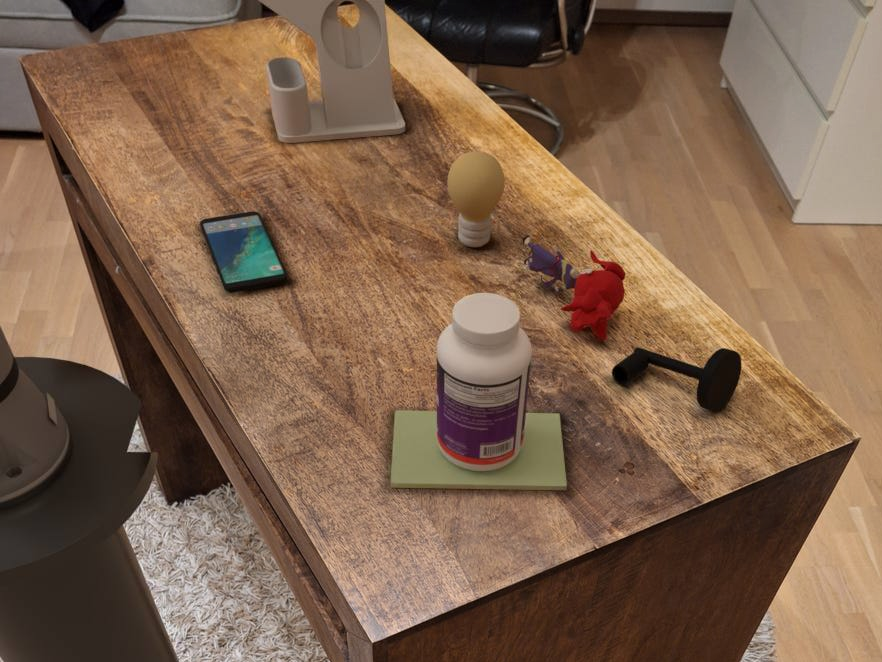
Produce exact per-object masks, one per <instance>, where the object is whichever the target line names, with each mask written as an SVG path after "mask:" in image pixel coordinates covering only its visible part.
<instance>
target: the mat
mask: <svg viewBox="0 0 882 662" xmlns="http://www.w3.org/2000/svg"><path fill="white" fill-rule="evenodd" d="M393 420H394V422H393V423H394V424H393V436H392V437H393V438H392V453H391V466H390V467H391V469H390V470H391V471H390V488H396V489H397V488H398V489H399V488H400V489H456V490H458V489H459V490H511V491H512V490H513V491H514V490H515V491H516V490H521V491H567V487H568V483H567V475H566V473H567V472H566V463H565V455H564V454H565V453H564V443H563V433H562V423H561V414H560V413H555V412H554V413H552V412H526V417H525V427H524V438H523V445H522V448H521V450H520V452H519V454H518V455H517V457H516V458H515V459H514V460H513V461H511V462H510V463H509V464H507V465H505V466H503V467H501V468H499V469H495V470H490V471H473V470H468V469H465V468H462V467H459V466H457V465H455V464H453V463H452V462H450V461H449V460H448V459H447V458H446V457H445V456H444V455H443V454H442V452H441V450H440V448H439V446H438V442H437V410H409V409H408V410H406V409H405V410H404V409H403V410H401V409H400V410H399V409H396V410H394V419H393Z"/></svg>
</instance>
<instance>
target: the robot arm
mask: <svg viewBox="0 0 882 662" xmlns="http://www.w3.org/2000/svg"><path fill="white" fill-rule="evenodd" d="M15 357H16V356H14V353H13V351H12V348H11V346H10V344H9V341H8V339H7V338H6V335H5V333H4V330H3V328H2V326H1V325H0V510H2V509H5V508H8V507H11V506H14V505H16V504H19V503H21V502H23V501H25V500H27V499H29V498H31V497H33V496H35V495H36V494H38V493H39V492H41V491H42V490H44V489H45V488H46V487H48V486H49V485H50V484H51V483H52V482H53V481H54V480H55V479H56V478H57V477H58V476H59V475H60V474H61V473H62V471H63V470H64V469H65V467H66V465H67V463H68V461H69V459H70V456H71V453H72V447H73V441H72V436H71V433H70V430H69V428H68V425H67V423H66V421H65V419H64V417H63V415H62V414H61V413H60V411H59V409H58V408H57V407H56V406H55V403H54V400H53V398H52V397H51V396H50V395H49V394H48V393H47V397H46V396H45V395H44V394H43V393H42V392H41V391H40V390H39V389H38V387H37V386H36V385H35V384H34V383H33V382H32V381H31V380H30V379H29V378H28V377H27V376H26V375H25V373H24V372H23V371H22V370H21V369H20V368H19V366H18V364H17V362H16V360H15Z"/></svg>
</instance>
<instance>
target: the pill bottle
mask: <svg viewBox="0 0 882 662" xmlns="http://www.w3.org/2000/svg"><path fill="white" fill-rule="evenodd" d="M451 312H452V314H451V315H452V316H451V323H450V324H448V325H447V326H446V327H445V328H444V329H443V331H442V332H441V334H439V338H438V340H437V343H436V411H437V442H438V446H439V448H440V450H441V452H442V454H443V455H444V456H445V457H446V458H447V459H448V460H449V461H450V462H452V463H453V464H455V465H457V466H459V467H462V468H465V469H468V470H473V471H490V470H495V469H499V468H501V467H503V466H505V465H507V464H509V463H510V462H511V461H513V460H514V459H515V458H516V457H517V455H518V454H519V452H520V450H521V448H522V445H523V438H524V427H525V417H526V413H527V405H528V397H529V396H528V395H529V385H530V377H531V376H530V375H531V366H532V357H533V349H532V343H531V340H530V338H529V336H528V334H527V333H526V332H525V330H524V329H523V328H522V327H521V311H520V309H519V306H518V305H517V304H516V303H515V302H514V301H513V300H511V299H510V298H508V297H506V296H504V295H501V294H497V293H492V292H477V293H472V294H469V295H466V296H464V297H462V298H460V299H458V301H456V302H455V304H454V306H453V307H452V311H451Z"/></svg>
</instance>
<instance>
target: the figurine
mask: <svg viewBox="0 0 882 662" xmlns="http://www.w3.org/2000/svg"><path fill="white" fill-rule="evenodd" d="M531 238H532V236H531V235H526V236H524V237H523V238H522V244H523V245H526V246H528V247H529V248H530V250H529V252H528V256H527V258H525V260H524V262H523V263H524V265H525V266H528V269H529V271H531V272H535V273H540V274H543V275H545V276H548V277H551V278H552V279H550V280H548V281H543V276H542V275H540V280H541V285H542V288H543V289H545V290H546V289H549V288H551V287H552V286H553V285H555V283H556V282H557V281H560V282H562V283H563V284H561V285H559V286H556V287H554V289H555V292H556V293H559V291H564V290H573V299H572V301H571V303H569V304H567V305H565V306H563V307H561V308H560V310H561V311H564V312H572V313H571V316H570V322H569V323H570V324H569V328H570V329H571V330H572V332H573V333H576V334H578V333H579V332H581V331H582V330H584V329H585V328H586V327H589V328H590V330H591V331H592V333H593V334H594V335H595V336H596V337H597V338H599V339H600V340H601V341H607V339H608V338H607V337H608V336H607V330H608V319H610V318H612V317H613V315H614V314H615V312H616V311H617V310H618V309H619V307H620V305H621V304H622V303H623V301H624V297H625V292H626V289H625V286H624V280H625V278H626V274H627V273H626V272H625V270H624V268H623V267H622V266H621V265H620V264H618V263H617V262H615V261H609V260H608V261H607V260H606V261H604V260H600V259H599V258H598V257H597V255H596V254H595V252H594V251H593V250H590V251H589V257H590V259H591V261H592V262H593V264H598V265H599V266H600V267H601V268H602V269H596V270H595V269H593V268H584V269H583V270H582V271H581V272H580V273H579V272H578V270H577V269H576V268H575V267H573V266H572V264H570V263H569V262H568V261H567V260H566V258H565V256H564V255H563V254H562V253H561V251H559V249H558V246H557V245H555V244H553V245H552V248H553V249H554V251H555V253H556V254H557V255H555V254H553V253H552V252H551V251H549V250H548V249H546V248H545V247H543V246H542V245H541V244H539V243H533V242H531Z"/></svg>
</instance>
